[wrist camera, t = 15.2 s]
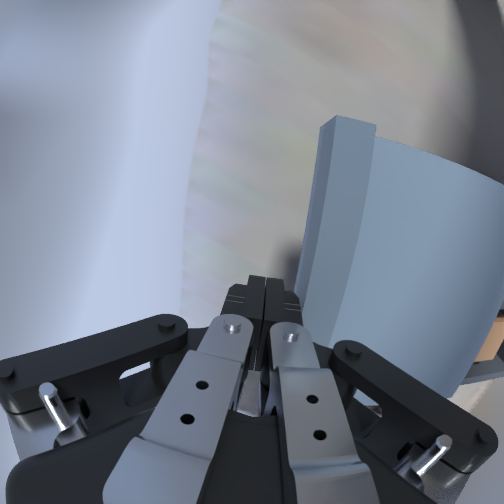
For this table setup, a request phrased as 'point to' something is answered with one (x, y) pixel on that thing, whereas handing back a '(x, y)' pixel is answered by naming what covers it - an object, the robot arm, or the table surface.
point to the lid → (401, 254)
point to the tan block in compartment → (492, 340)
